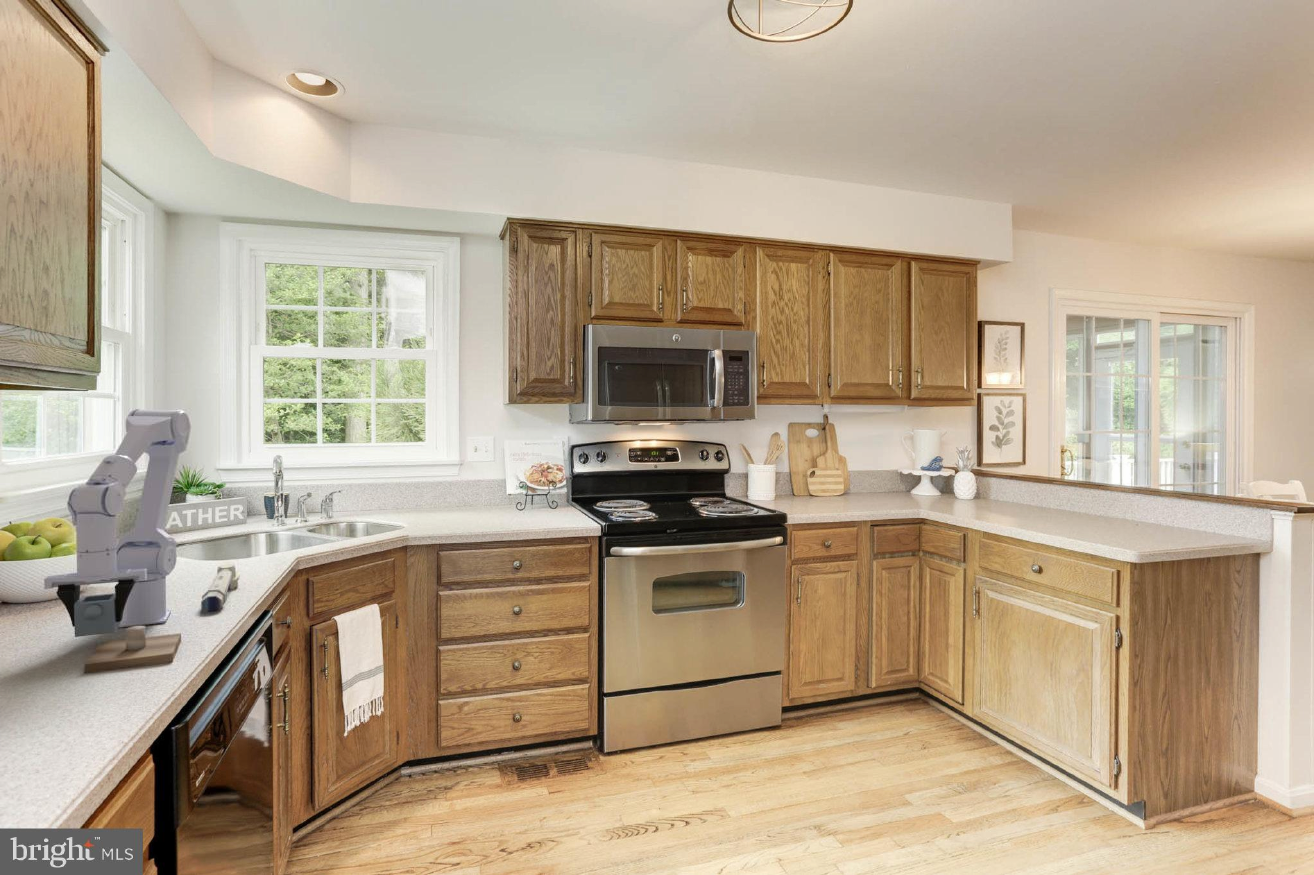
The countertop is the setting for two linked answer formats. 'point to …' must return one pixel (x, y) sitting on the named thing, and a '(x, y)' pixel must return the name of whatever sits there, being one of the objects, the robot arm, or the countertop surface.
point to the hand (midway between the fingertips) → (97, 622)
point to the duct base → (133, 651)
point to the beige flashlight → (220, 588)
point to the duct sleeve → (95, 615)
